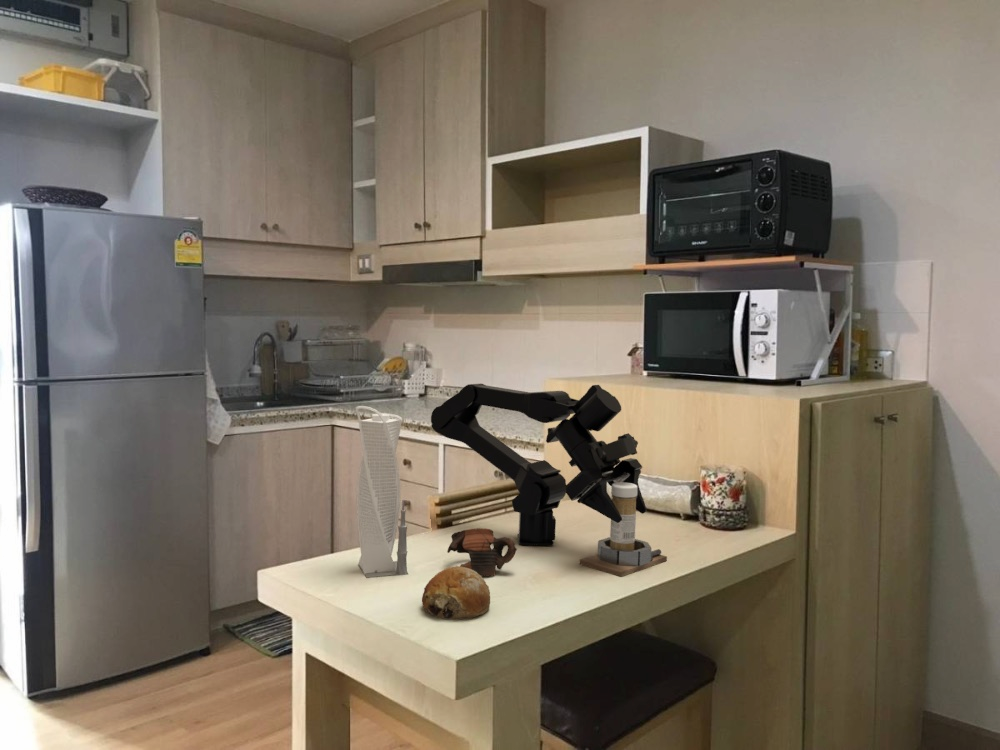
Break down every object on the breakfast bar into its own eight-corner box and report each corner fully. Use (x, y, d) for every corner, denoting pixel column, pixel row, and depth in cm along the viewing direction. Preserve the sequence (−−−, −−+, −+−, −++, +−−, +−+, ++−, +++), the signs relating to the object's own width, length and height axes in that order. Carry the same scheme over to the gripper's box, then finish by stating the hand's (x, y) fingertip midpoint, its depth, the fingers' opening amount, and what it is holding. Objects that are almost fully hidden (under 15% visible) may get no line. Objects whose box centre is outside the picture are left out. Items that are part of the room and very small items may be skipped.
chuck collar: (630, 569, 139) (630, 554, 139) (588, 556, 146) (589, 543, 145) (666, 556, 147) (667, 543, 147) (625, 545, 154) (625, 532, 153)
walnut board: (621, 576, 138) (621, 572, 138) (579, 564, 144) (579, 559, 144) (666, 560, 148) (666, 556, 148) (625, 549, 154) (625, 545, 154)
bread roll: (492, 639, 118) (513, 587, 120) (438, 622, 113) (461, 567, 114) (455, 617, 126) (475, 568, 128) (403, 600, 121) (425, 549, 122)
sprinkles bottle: (630, 554, 148) (633, 481, 147) (637, 562, 143) (640, 487, 142) (605, 554, 147) (608, 481, 146) (612, 562, 143) (615, 486, 142)
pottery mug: (443, 580, 134) (439, 531, 138) (460, 589, 142) (456, 543, 146) (514, 568, 132) (507, 519, 135) (527, 578, 140) (521, 531, 144)
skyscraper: (357, 580, 132) (361, 408, 130) (348, 565, 139) (351, 403, 137) (408, 576, 135) (413, 408, 133) (396, 561, 143) (400, 402, 140)
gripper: (583, 424, 139) (638, 498, 133) (635, 415, 154) (686, 482, 148) (543, 463, 144) (594, 536, 138) (597, 451, 159) (645, 517, 153)
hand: (632, 516), depth 144 cm, fingers open, 9 cm apart
